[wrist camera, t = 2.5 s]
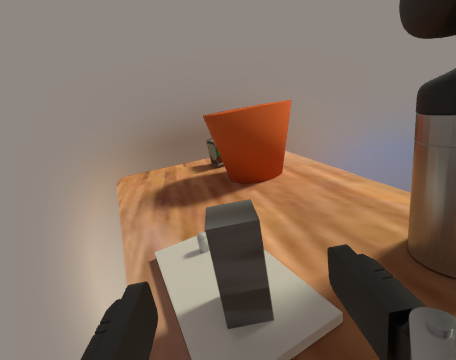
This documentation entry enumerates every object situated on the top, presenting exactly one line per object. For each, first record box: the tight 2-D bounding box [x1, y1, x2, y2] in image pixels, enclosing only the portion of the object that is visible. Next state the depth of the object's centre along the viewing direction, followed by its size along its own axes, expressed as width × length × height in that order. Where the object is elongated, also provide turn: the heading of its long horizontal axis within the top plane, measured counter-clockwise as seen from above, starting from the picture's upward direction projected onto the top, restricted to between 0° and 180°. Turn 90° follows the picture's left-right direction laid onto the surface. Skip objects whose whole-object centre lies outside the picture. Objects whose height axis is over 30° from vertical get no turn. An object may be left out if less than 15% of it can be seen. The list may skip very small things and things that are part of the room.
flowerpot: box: [203, 100, 291, 183], centre depth 71 cm, size 25×25×20 cm
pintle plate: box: [155, 232, 343, 360], centre depth 30 cm, size 24×14×4 cm, turn 26°
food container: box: [206, 138, 224, 168], centre depth 92 cm, size 12×6×10 cm, turn 20°
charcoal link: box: [205, 199, 274, 329], centre depth 24 cm, size 5×5×11 cm
